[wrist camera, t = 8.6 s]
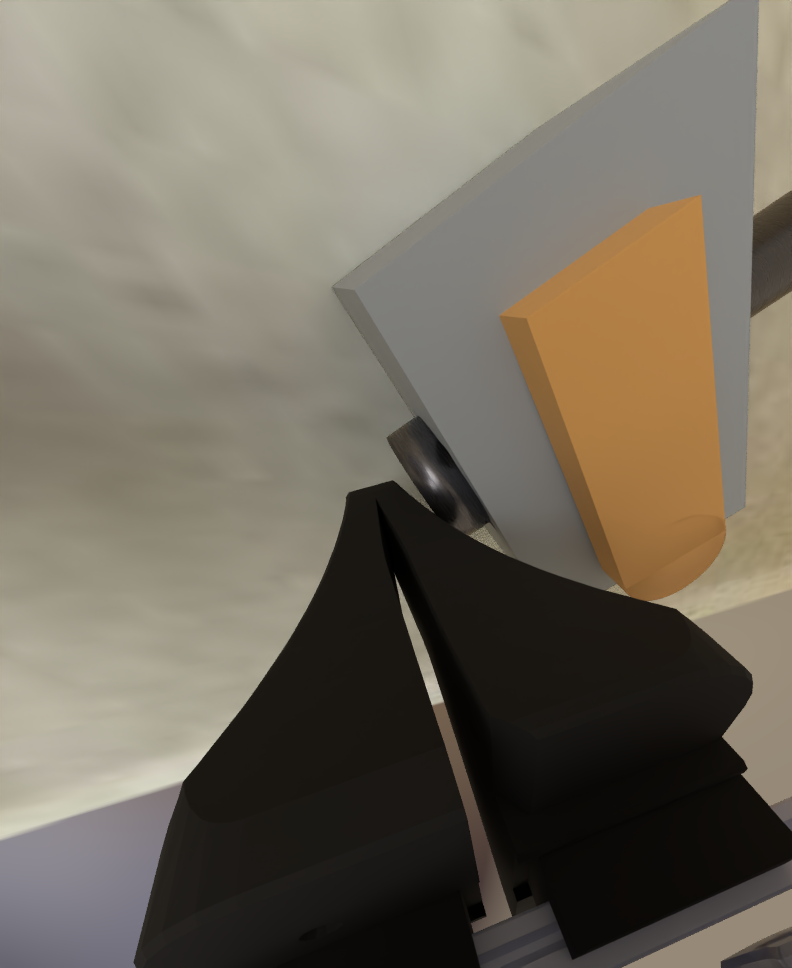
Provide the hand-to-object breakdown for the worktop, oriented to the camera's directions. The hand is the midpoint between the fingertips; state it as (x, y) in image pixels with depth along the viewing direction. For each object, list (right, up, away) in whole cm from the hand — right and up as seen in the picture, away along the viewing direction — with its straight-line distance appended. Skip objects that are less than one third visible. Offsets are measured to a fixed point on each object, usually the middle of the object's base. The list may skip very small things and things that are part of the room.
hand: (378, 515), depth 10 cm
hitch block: (+4, +4, +1) cm, 6 cm away
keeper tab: (+5, +1, -2) cm, 6 cm away
